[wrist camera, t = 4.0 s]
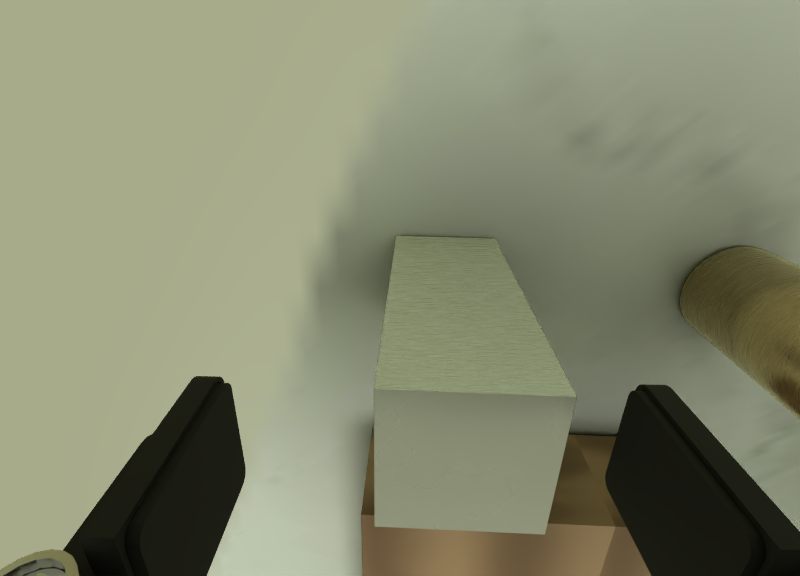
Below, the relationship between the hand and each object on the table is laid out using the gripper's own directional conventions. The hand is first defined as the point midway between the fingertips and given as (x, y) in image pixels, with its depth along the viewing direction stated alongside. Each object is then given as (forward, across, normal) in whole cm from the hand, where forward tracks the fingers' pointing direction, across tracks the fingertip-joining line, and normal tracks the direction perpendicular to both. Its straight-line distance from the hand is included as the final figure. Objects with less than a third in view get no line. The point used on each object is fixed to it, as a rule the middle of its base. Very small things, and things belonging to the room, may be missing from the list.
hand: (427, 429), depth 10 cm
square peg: (+9, -1, 0) cm, 9 cm away
